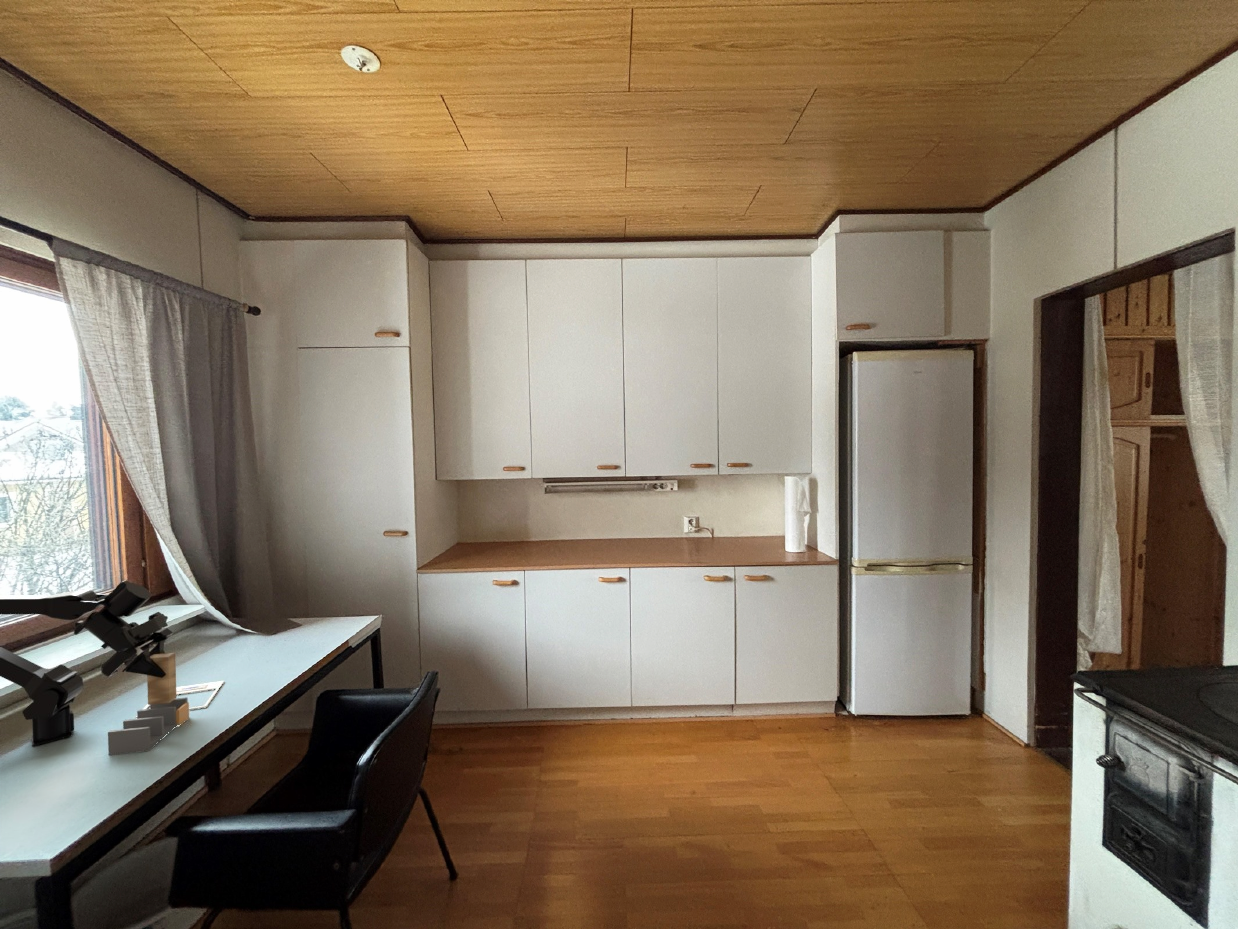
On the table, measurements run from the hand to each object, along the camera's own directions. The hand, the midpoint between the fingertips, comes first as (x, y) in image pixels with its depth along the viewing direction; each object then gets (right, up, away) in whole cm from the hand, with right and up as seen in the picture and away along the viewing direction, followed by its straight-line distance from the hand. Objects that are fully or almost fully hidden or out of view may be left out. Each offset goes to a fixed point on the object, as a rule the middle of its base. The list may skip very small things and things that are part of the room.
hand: (168, 673), depth 139 cm
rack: (0, -12, -5) cm, 13 cm away
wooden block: (-1, -7, 0) cm, 7 cm away
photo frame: (-7, -13, +15) cm, 21 cm away
